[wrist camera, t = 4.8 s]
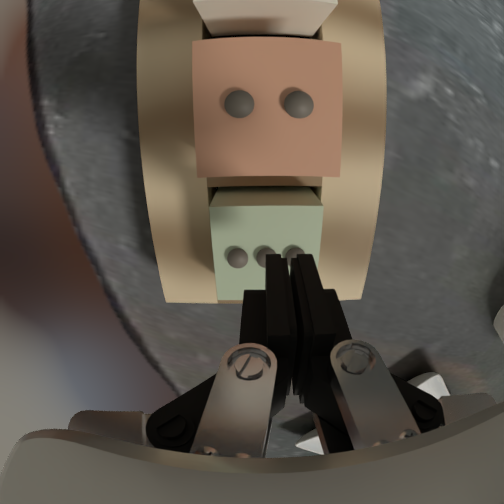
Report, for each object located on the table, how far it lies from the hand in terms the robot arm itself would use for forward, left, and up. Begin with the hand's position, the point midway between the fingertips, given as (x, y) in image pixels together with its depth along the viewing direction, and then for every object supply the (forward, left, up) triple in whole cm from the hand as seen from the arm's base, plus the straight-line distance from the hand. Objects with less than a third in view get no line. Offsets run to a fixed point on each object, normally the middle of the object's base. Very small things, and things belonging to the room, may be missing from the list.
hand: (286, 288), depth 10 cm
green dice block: (+1, -1, -8) cm, 8 cm away
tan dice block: (-6, -1, -6) cm, 9 cm away
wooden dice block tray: (-6, -1, -9) cm, 11 cm away
